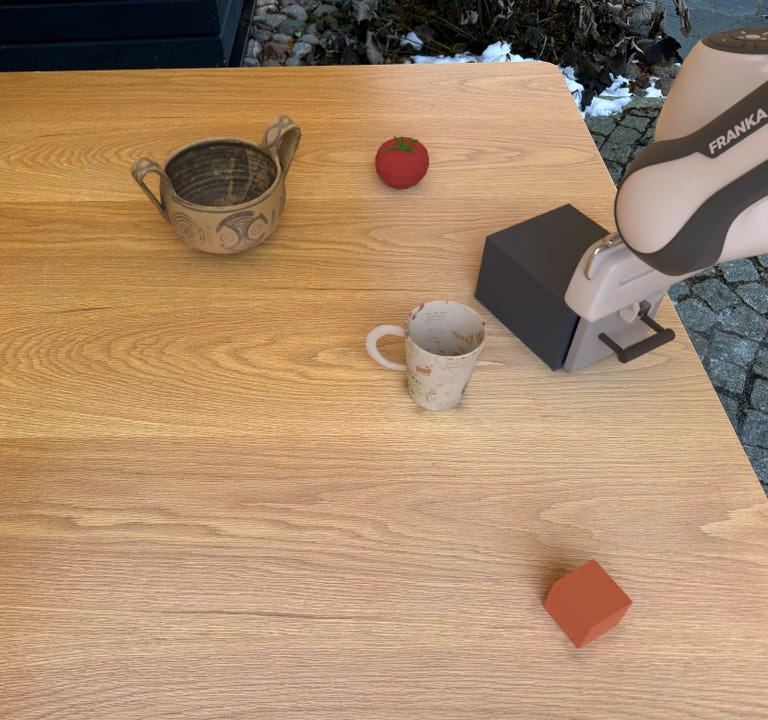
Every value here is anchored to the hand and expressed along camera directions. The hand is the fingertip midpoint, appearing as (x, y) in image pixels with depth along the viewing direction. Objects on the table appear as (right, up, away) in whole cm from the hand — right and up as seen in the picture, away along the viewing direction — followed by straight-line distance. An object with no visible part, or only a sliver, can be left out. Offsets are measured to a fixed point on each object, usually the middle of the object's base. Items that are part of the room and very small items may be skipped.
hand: (633, 314), depth 79 cm
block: (-11, -27, -13) cm, 32 cm away
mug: (-22, -8, +5) cm, 24 cm away
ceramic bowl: (-45, +12, +25) cm, 53 cm away
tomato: (-20, +22, +33) cm, 44 cm away
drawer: (-2, -1, +9) cm, 9 cm away
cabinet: (-4, +1, +12) cm, 13 cm away
